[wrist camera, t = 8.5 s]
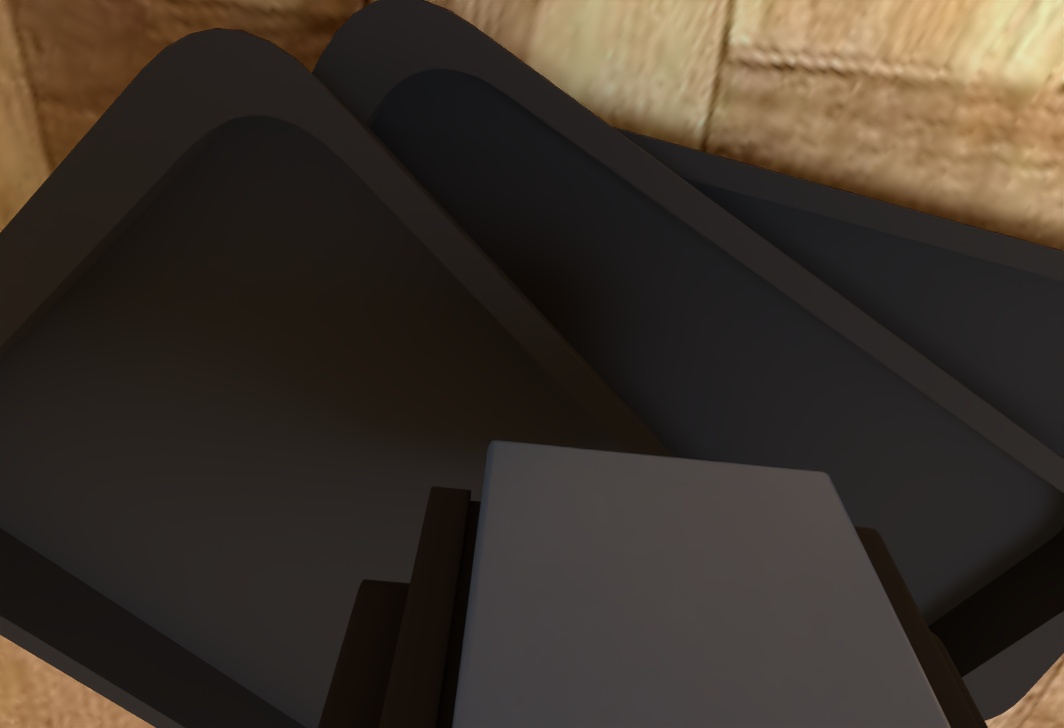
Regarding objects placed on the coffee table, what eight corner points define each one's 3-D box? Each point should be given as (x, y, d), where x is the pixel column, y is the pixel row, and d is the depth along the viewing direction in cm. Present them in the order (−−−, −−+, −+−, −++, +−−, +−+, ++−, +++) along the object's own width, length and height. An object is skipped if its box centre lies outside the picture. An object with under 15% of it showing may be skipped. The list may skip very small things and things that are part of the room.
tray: (1417, 69, 15) (1786, 139, 10) (972, 780, 27) (1055, 956, 22) (-163, -77, 14) (-487, -69, 10) (93, 714, 26) (-2, 880, 22)
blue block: (488, 436, 10) (448, 762, 6) (829, 468, 10) (995, 808, 6) (469, 665, 12) (429, 1009, 8) (748, 691, 12) (834, 1040, 8)
